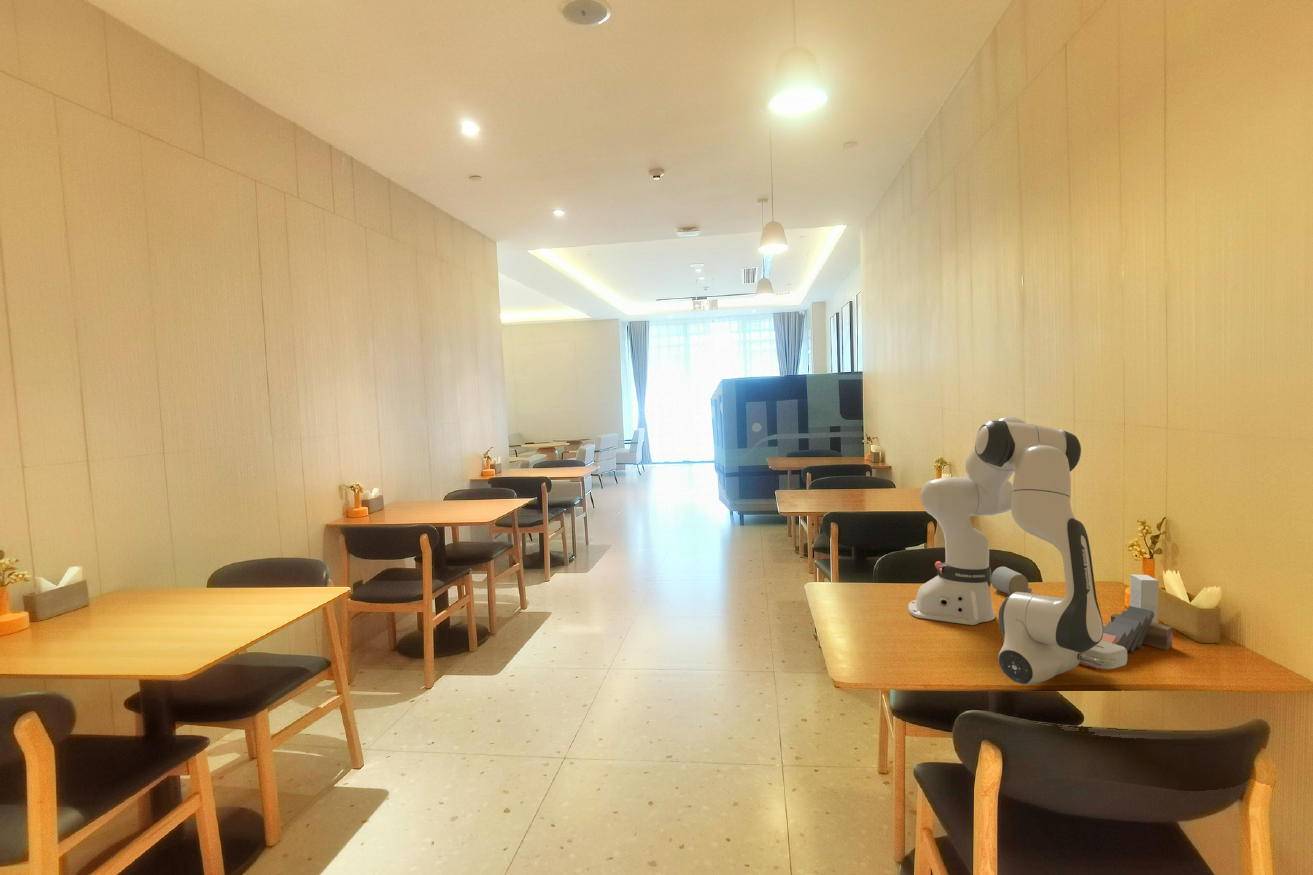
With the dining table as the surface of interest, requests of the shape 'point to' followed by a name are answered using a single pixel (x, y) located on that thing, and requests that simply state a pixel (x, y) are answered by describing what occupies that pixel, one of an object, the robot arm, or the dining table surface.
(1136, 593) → the skincare box
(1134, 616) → the domino
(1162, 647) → the end stop
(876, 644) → the dining table surface
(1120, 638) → the domino
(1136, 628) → the domino
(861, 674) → the dining table surface
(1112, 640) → the domino
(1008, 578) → the ceramic mug
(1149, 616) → the domino
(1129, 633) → the domino
